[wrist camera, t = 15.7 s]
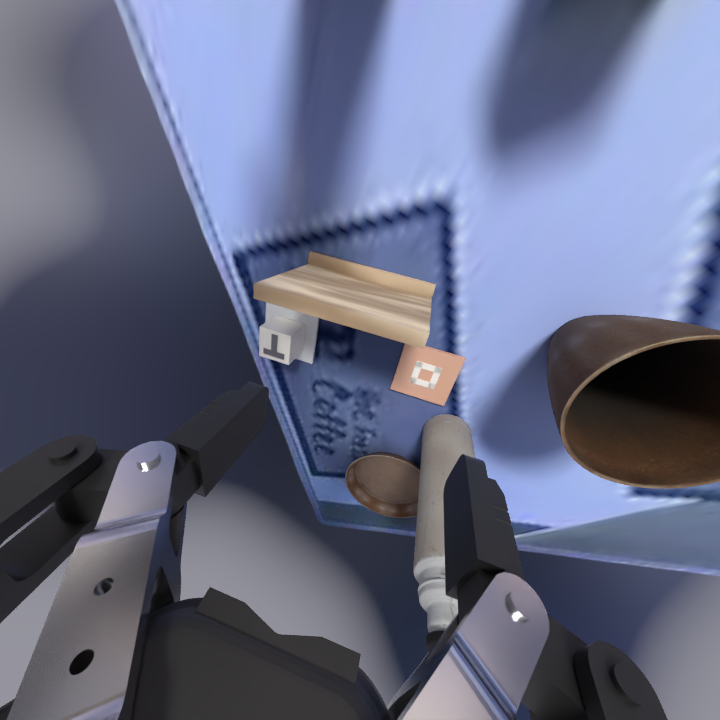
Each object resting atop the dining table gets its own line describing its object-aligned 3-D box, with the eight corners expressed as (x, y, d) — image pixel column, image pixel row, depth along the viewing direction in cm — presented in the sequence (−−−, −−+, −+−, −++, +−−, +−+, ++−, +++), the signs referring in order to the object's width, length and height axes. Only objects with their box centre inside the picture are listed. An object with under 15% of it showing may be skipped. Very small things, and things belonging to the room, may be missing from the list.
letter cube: (277, 315, 44) (258, 326, 39) (305, 324, 43) (290, 336, 39) (275, 343, 46) (258, 356, 42) (302, 352, 46) (288, 366, 41)
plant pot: (527, 401, 40) (574, 495, 27) (504, 310, 35) (547, 368, 22) (658, 376, 34) (804, 481, 21) (652, 264, 30) (839, 304, 16)
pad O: (406, 340, 41) (405, 341, 40) (465, 357, 40) (465, 359, 39) (390, 387, 45) (390, 389, 45) (443, 403, 44) (443, 406, 44)
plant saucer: (351, 496, 62) (347, 508, 59) (346, 438, 54) (341, 449, 51) (430, 512, 58) (430, 526, 55) (438, 452, 49) (438, 465, 47)
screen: (311, 251, 38) (253, 266, 26) (436, 284, 36) (435, 317, 24) (307, 285, 41) (253, 313, 29) (424, 318, 39) (418, 363, 27)
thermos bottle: (467, 452, 48) (498, 692, 24) (421, 445, 49) (406, 661, 25) (474, 417, 44) (520, 657, 20) (424, 411, 46) (410, 624, 22)
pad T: (268, 299, 43) (265, 300, 43) (319, 314, 42) (318, 316, 42) (266, 347, 48) (264, 349, 47) (313, 362, 47) (311, 364, 46)
